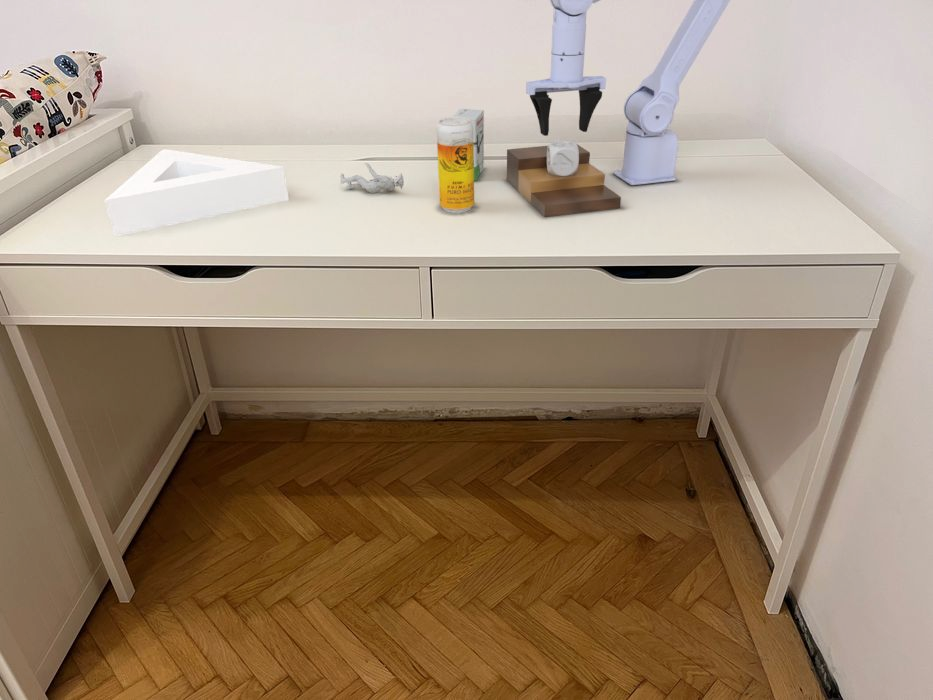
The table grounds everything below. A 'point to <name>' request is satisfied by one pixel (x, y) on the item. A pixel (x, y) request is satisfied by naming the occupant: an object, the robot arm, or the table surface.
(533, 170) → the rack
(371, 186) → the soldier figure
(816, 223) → the table surface
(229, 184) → the triangle block
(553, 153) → the die
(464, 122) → the beer can
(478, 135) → the ink box
